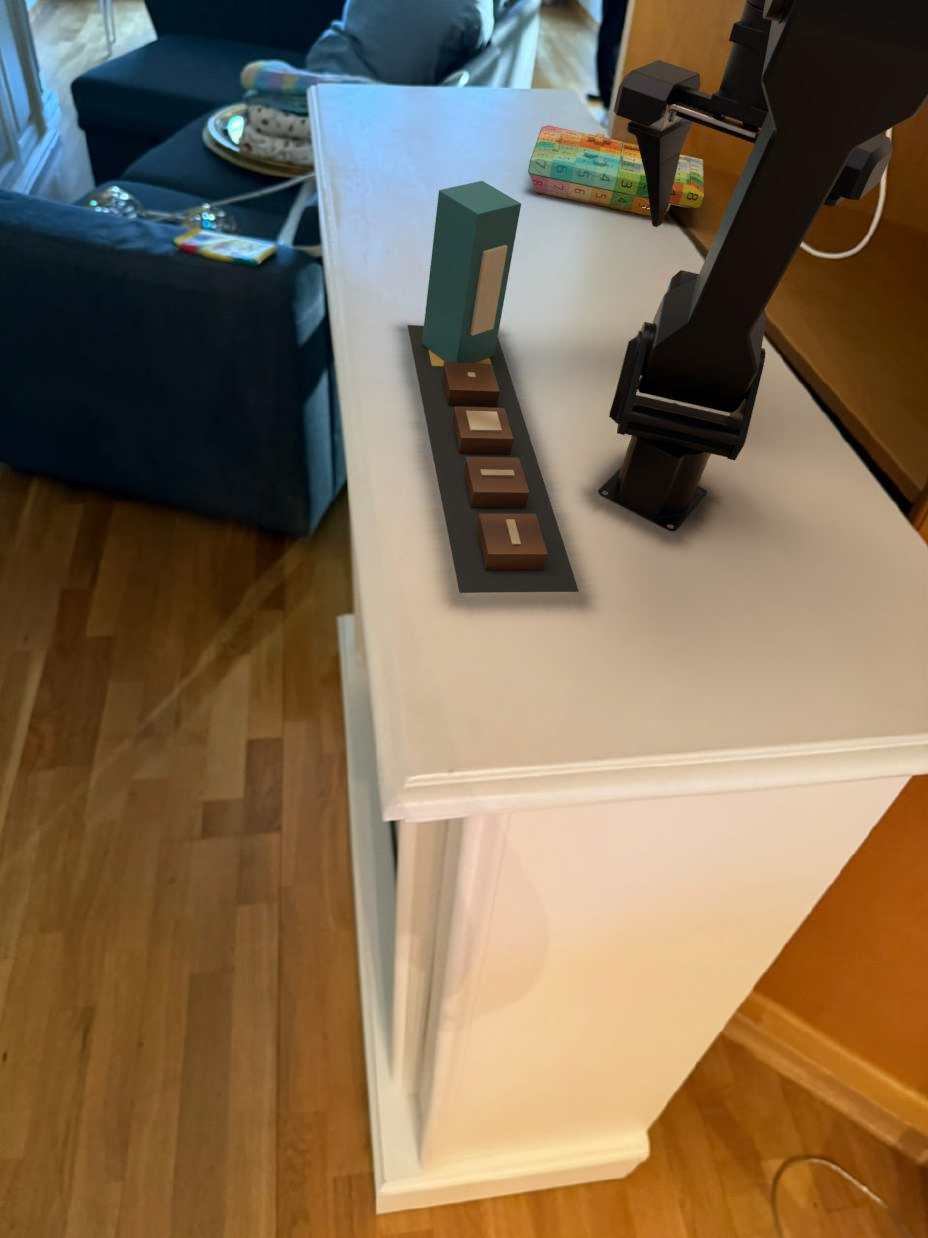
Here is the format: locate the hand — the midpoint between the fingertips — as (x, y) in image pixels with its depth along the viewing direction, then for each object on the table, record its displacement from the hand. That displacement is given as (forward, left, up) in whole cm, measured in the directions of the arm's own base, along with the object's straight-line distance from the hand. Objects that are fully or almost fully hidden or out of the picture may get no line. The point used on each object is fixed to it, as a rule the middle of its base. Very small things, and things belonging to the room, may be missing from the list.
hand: (709, 246), depth 69 cm
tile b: (-23, +3, -12) cm, 26 cm away
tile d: (-13, +11, -12) cm, 22 cm away
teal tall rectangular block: (-9, +16, -12) cm, 22 cm away
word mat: (-18, +7, -13) cm, 23 cm away
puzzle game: (+36, +24, -13) cm, 45 cm away
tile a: (-27, -1, -12) cm, 30 cm away
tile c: (-18, +7, -12) cm, 23 cm away
